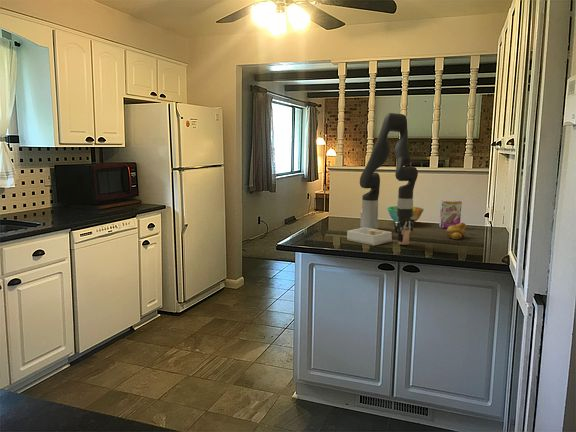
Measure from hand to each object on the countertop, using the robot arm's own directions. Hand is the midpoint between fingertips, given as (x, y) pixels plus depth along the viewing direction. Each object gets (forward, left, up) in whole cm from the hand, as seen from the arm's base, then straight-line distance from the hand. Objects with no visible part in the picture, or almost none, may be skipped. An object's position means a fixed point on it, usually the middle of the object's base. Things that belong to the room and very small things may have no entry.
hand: (403, 240), depth 229 cm
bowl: (-35, +50, -2) cm, 61 cm away
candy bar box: (-10, +60, -2) cm, 61 cm away
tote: (-18, -5, -2) cm, 19 cm away
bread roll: (+8, +36, -3) cm, 36 cm away
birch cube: (-14, -5, -1) cm, 15 cm away
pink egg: (0, 0, -1) cm, 1 cm away
